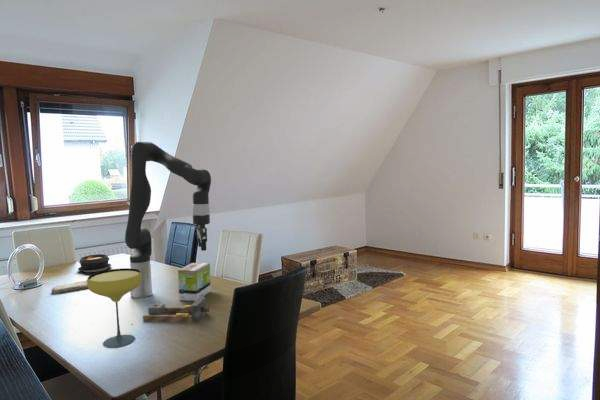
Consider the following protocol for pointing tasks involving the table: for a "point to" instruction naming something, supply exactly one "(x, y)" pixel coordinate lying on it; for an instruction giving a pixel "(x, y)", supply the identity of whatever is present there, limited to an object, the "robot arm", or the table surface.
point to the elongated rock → (70, 287)
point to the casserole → (94, 263)
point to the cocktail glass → (115, 295)
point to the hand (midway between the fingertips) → (202, 248)
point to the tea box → (194, 281)
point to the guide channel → (181, 313)
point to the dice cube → (157, 309)
